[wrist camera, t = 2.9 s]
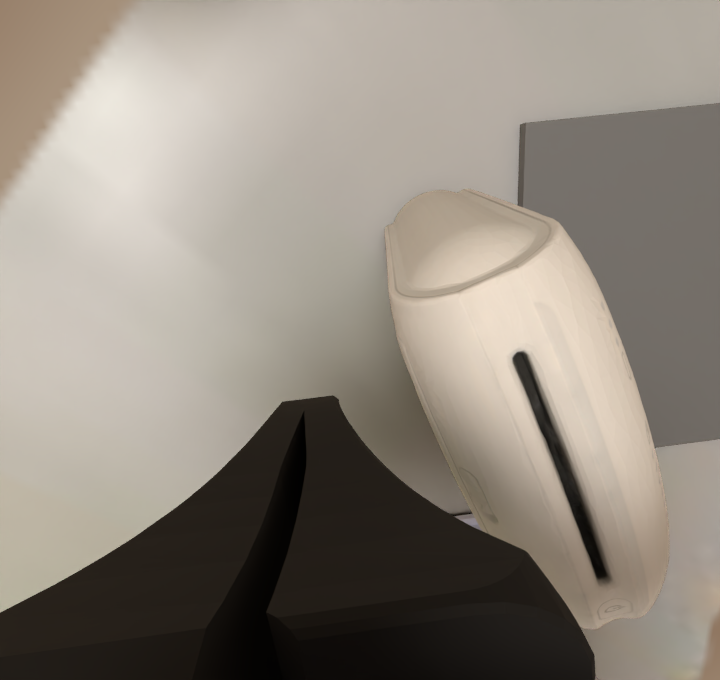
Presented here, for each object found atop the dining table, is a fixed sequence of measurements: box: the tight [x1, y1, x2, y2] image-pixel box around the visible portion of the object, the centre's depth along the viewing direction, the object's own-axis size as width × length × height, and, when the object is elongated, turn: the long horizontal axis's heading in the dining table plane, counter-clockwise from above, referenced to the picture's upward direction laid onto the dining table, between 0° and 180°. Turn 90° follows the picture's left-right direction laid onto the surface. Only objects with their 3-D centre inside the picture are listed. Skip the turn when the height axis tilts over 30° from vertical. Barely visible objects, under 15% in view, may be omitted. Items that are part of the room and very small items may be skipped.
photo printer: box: [385, 189, 669, 629], centre depth 13 cm, size 10×4×12 cm, turn 25°
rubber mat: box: [518, 103, 720, 448], centre depth 20 cm, size 16×14×1 cm
